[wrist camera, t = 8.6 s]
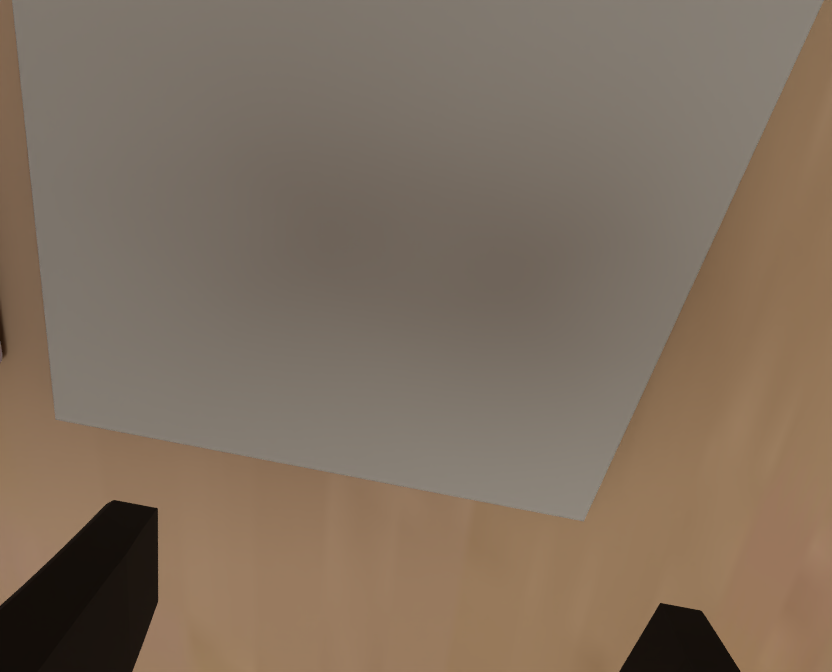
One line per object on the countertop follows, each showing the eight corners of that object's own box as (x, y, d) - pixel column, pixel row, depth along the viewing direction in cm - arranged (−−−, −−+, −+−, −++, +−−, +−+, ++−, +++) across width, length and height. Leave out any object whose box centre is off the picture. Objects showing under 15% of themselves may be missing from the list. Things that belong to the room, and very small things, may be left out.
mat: (62, 411, 23) (55, 419, 22) (-5, -277, 14) (-17, -281, 13) (582, 512, 23) (583, 521, 23) (849, -76, 14) (858, -75, 14)
